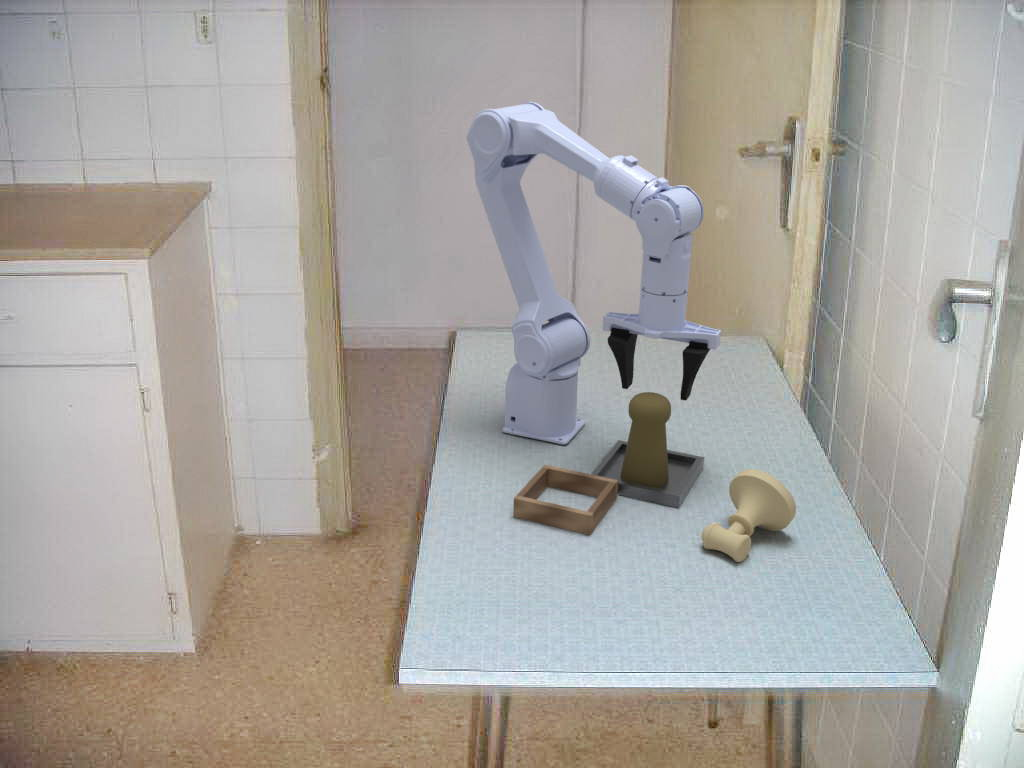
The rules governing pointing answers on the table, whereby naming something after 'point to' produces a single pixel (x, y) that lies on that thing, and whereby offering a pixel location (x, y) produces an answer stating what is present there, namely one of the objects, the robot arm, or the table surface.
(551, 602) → the table surface
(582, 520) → the walnut stand
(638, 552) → the table surface
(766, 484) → the door knob
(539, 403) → the robot arm
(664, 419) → the olive peg figure
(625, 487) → the grey square tray
